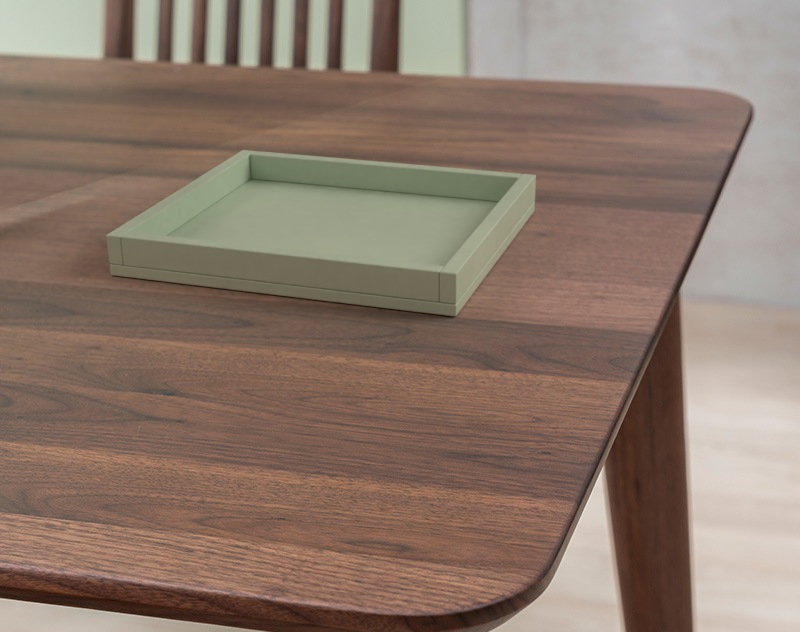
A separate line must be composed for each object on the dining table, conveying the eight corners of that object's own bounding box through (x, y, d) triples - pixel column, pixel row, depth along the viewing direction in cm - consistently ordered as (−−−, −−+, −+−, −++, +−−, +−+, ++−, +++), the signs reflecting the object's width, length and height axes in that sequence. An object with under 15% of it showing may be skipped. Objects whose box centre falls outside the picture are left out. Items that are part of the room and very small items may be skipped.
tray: (110, 275, 61) (105, 234, 61) (244, 184, 75) (242, 149, 74) (455, 317, 56) (456, 273, 55) (534, 211, 70) (536, 174, 69)
